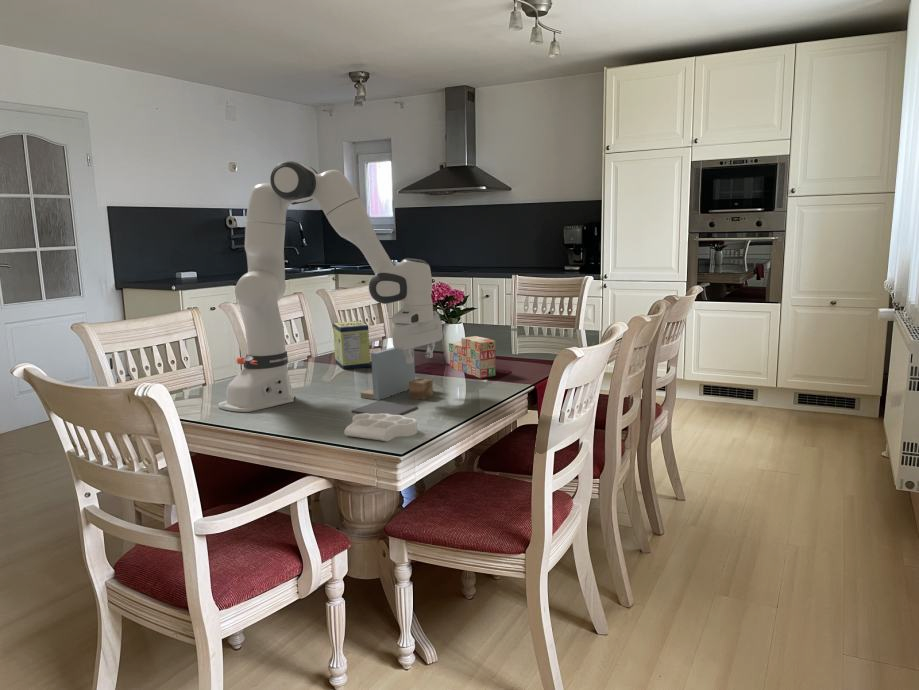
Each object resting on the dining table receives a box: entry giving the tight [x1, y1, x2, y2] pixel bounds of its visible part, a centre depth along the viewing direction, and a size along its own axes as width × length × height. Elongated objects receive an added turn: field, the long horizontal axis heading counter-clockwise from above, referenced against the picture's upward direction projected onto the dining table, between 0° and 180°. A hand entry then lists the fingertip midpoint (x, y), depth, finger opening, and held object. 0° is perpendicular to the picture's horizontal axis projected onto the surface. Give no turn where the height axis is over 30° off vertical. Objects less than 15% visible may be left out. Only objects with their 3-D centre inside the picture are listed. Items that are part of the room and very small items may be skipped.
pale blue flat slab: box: [360, 346, 416, 401], centre depth 207 cm, size 18×7×14 cm, turn 147°
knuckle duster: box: [344, 413, 418, 442], centre depth 168 cm, size 3×18×15 cm
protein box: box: [332, 320, 371, 370], centre depth 252 cm, size 10×16×16 cm
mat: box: [351, 400, 419, 416], centre depth 187 cm, size 12×14×1 cm
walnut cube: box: [408, 377, 434, 400], centre depth 201 cm, size 5×5×5 cm
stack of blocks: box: [448, 335, 497, 379], centre depth 234 cm, size 21×6×12 cm, turn 30°
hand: (419, 360), depth 199 cm, fingers open, 8 cm apart
